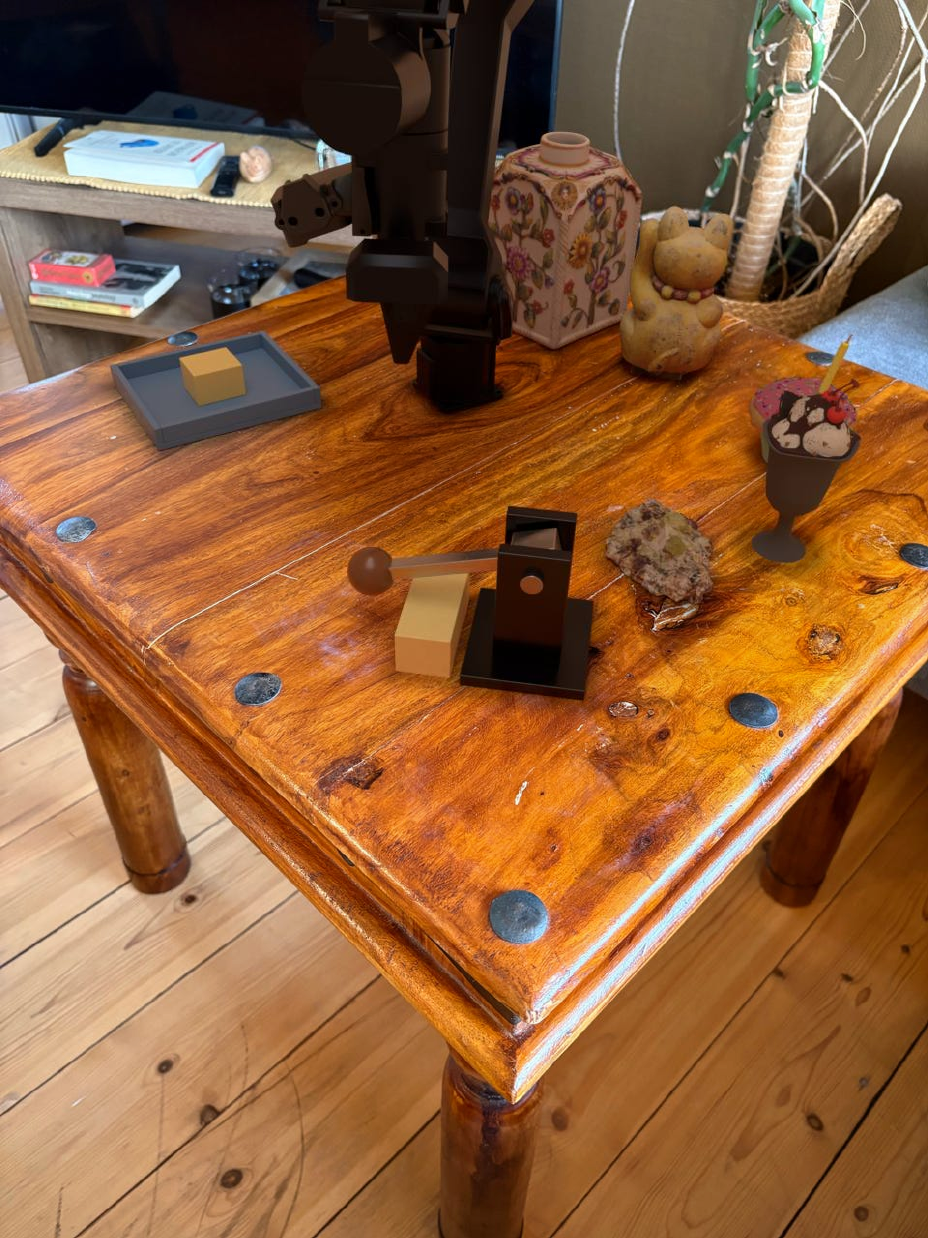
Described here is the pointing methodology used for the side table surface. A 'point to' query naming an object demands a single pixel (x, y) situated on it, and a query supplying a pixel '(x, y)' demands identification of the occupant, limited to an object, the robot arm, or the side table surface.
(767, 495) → the sundae
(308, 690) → the side table surface
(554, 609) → the slicer
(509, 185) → the decorative jar
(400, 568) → the lever
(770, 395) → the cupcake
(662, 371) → the decorative figurine
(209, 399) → the butter pat
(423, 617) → the tan rectangular block
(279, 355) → the dish
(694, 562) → the mineral rock
